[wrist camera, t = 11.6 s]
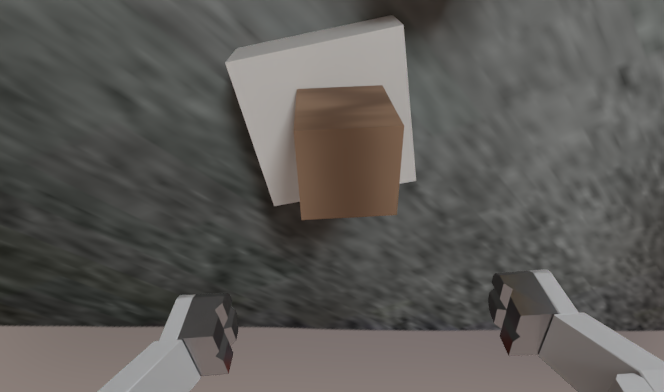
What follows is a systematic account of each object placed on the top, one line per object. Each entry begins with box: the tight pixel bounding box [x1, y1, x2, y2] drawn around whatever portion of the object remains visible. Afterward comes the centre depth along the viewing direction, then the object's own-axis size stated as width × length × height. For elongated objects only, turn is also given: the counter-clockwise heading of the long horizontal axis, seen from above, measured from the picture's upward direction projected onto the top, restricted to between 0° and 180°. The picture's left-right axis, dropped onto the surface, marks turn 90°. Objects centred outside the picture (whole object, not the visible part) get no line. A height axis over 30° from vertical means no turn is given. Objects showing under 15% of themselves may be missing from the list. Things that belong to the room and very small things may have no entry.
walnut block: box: [294, 85, 404, 220], centre depth 21 cm, size 5×5×6 cm
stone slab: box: [225, 15, 416, 206], centre depth 25 cm, size 10×10×4 cm
